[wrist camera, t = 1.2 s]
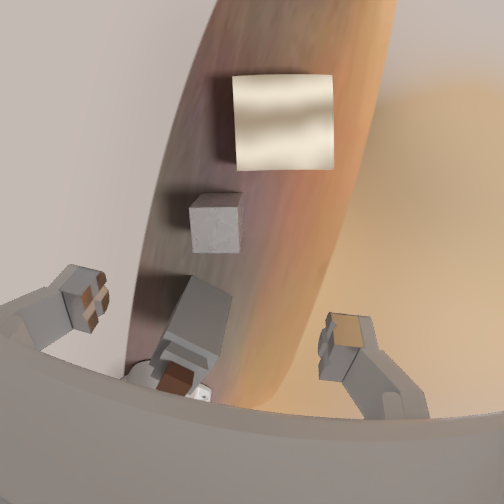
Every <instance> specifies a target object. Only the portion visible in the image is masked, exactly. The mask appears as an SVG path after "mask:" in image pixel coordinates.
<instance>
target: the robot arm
mask: <svg viewBox="0 0 504 504" xmlns="http://www.w3.org/2000/svg"><path fill="white" fill-rule="evenodd" d="M105 283H106V276H105V274H104V272H102V271H98V270H94V269H90V268H86V267H81V266H77V265H74V264H70V265H68V266H67V267H66V268H65V269H64V270H63V271H62V272H61V273H60V274H59V276H58V277H57V278H56V279H55V280H54V281H53V282H52V283H51V284H50V286H49V287H43V288H41V289H38V290H36V291H33V292H31V293H28V294H26V295H24V296H21V297H19V298H17V299H14V300H12V301H10V302H8V303H5V304H3V305H1V306H0V504H504V411H501V412H495V413H489V414H481V415H472V416H463V417H450V418H435V419H430V416H429V412H428V407H427V403H426V399H425V395H424V392H423V391H422V390H421V389H420V388H419V387H418V386H417V385H416V384H415V383H414V382H413V381H412V380H411V379H410V377H409V376H408V375H406V373H405V372H404V371H403V370H402V369H401V368H400V367H399V366H398V365H397V364H396V363H395V362H394V361H393V360H392V359H391V358H390V357H389V356H388V355H387V354H386V353H385V352H384V351H383V350H379V348H378V343H377V339H376V335H375V331H374V327H373V322H372V319H371V318H370V317H369V316H359V315H348V314H340V313H332V312H329V313H328V315H327V318H326V327H325V328H324V329H322V332H321V335H320V338H319V343H318V355H319V356H320V358H321V360H320V363H319V379H320V380H327V381H336V382H342V384H343V386H344V387H345V389H346V390H347V392H348V393H349V395H350V396H351V398H352V399H353V401H354V402H355V404H356V405H357V407H358V408H359V410H360V411H361V413H362V414H363V416H364V417H365V418H364V419H341V418H325V417H313V416H302V415H291V414H283V413H275V412H267V411H260V410H253V409H247V408H240V407H235V406H229V405H223V404H218V403H213V402H210V399H211V389H210V388H208V387H207V386H205V385H203V384H201V383H200V384H199V385H198V386H197V388H196V389H195V390H194V391H193V393H192V394H191V395H188V394H186V396H185V397H184V396H180V395H175V394H171V393H167V392H163V391H159V390H157V389H156V387H157V385H158V383H159V381H158V380H156V379H154V378H152V377H150V375H151V373H152V371H153V370H154V367H152V366H150V365H149V362H150V361H143V362H140V363H138V364H136V365H134V366H133V367H132V369H131V370H130V372H129V374H128V375H126V376H124V377H122V378H121V379H120V380H119V379H116V378H113V377H110V376H106V375H104V374H100V373H97V372H94V371H91V370H88V369H86V368H82V367H80V366H77V365H74V364H72V363H69V362H66V361H64V360H61V359H58V358H56V357H53V356H51V355H48V354H46V353H43V352H41V350H42V349H44V348H46V347H47V346H48V345H50V344H51V343H53V342H55V341H56V340H58V339H59V338H61V337H62V336H64V335H65V334H67V333H68V332H70V331H72V330H73V329H76V330H79V331H83V332H87V333H90V334H91V333H92V332H93V330H94V328H95V327H96V325H97V324H98V322H99V321H98V317H99V316H101V315H103V314H104V313H105V311H106V310H107V307H108V304H109V291H108V289H107V288H106V287H105V285H104V284H105Z"/></svg>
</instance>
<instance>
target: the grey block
mask: <svg viewBox="0 0 504 504" xmlns="http://www.w3.org/2000/svg"><path fill="white" fill-rule="evenodd" d="M189 215H190V226H191V237H192V247H193V253H239V252H240V248H241V244H242V240H243V235H244V211H243V193H203V194H201V195H200V196H199V197H198V198H197V199H196V200H195V201H194V203H193V204H192V205H191V206H190V207H189Z"/></svg>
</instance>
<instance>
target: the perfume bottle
mask: <svg viewBox="0 0 504 504" xmlns="http://www.w3.org/2000/svg"><path fill="white" fill-rule="evenodd" d="M231 300H232V296H230V295H228V294H227V293H225V292H223V291H221V290H219V289H217V288H215V287H213V286H211V285H209V284H208V283H206V282H204V281H202V280H200V279H198V278H196V277H195V276H193V275H192V276H191V278H190V280H189V282H188V284H187V286H186V287H185V289H184V291H183V293H182V295H181V297H180V298H179V300H178V302H177V304H176V306H175V308H174V310H173V312H172V314H171V316H170V319H169V321H168V323H167V325H166V327H165V329H164V332H163V334H162V336H161V338H160V340H159V342H158V345H157V347H156V349H155V351H154V354H153V356H152V358H151V360H150V362H149V365H150V366H152V367H154V370H153V371H152V373H151V375H150V377H152V378H154V379H156V380H158V381H159V383H158V385H157V387H156V389H157V390H159V391H163V392H167V393H171V394H175V395H180V396H184V397H185V396H186V394H188V395H191V394H192V393H193V391H194V390H195V389H196V388H197V386H198V385H199V384H200V382H201V381H202V380H203V378H204V377H205V376H206V374H207V373H208V372H209V370H210V369H211V368H212V366H213V365H214V364H215V362H216V361H217V359H218V358H219V357H220V352H221V348H222V343H223V338H224V333H225V329H226V324H227V319H228V314H229V310H230V305H231Z"/></svg>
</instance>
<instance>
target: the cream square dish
mask: <svg viewBox="0 0 504 504" xmlns="http://www.w3.org/2000/svg"><path fill="white" fill-rule="evenodd" d="M232 79H233V100H234V119H235V139H236V157H237V171H251V170H301V169H322V170H334V118H333V85H332V75H312V74H273V75H247V76H232Z"/></svg>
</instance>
